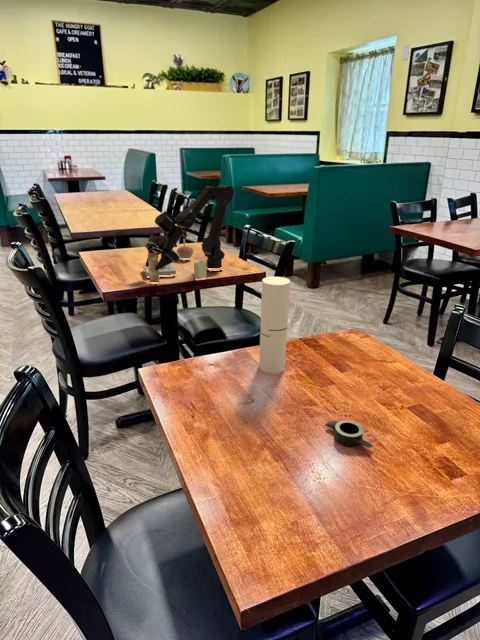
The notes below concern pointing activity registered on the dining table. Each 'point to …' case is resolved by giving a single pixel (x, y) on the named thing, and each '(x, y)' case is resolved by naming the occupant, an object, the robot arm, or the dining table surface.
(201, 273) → the square bit
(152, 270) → the birch dowel
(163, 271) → the bore block
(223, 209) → the robot arm
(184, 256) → the cupcake
